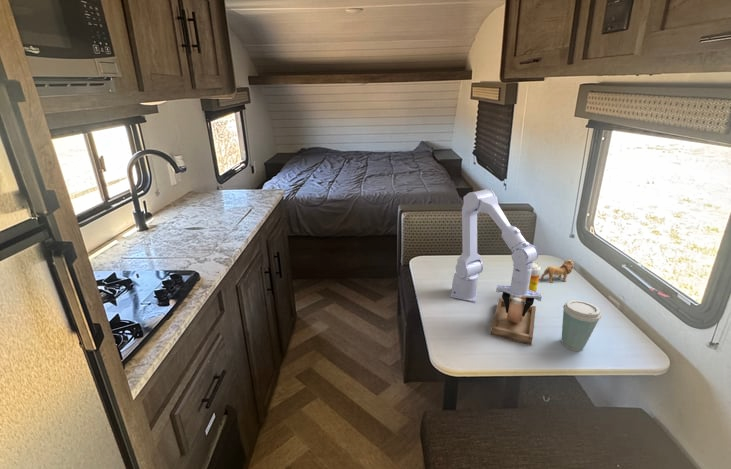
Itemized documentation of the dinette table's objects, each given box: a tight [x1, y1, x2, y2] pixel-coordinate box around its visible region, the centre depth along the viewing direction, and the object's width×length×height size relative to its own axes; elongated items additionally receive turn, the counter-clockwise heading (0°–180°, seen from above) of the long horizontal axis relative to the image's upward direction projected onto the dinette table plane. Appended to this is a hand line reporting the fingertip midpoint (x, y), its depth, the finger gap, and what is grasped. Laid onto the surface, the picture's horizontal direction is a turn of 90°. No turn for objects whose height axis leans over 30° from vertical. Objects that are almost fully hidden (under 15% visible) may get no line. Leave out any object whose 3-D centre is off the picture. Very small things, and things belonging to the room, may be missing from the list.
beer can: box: [520, 261, 541, 301], centre depth 146 cm, size 6×6×15 cm
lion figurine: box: [540, 259, 575, 284], centre depth 161 cm, size 15×5×9 cm, turn 105°
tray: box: [490, 298, 537, 346], centre depth 133 cm, size 13×20×3 cm, turn 155°
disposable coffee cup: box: [561, 299, 602, 352], centre depth 120 cm, size 11×11×15 cm
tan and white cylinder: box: [507, 296, 525, 322], centre depth 131 cm, size 5×5×7 cm
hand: (515, 313), depth 132 cm, fingers closed on tan and white cylinder, 5 cm apart
